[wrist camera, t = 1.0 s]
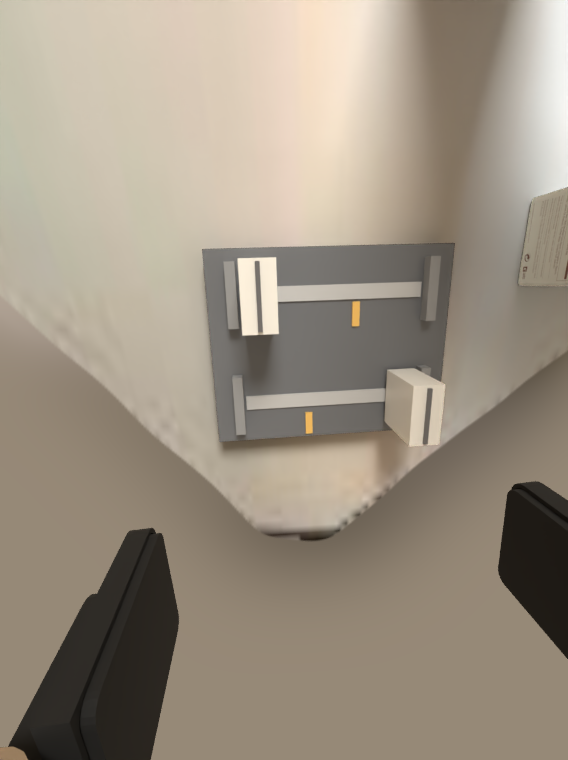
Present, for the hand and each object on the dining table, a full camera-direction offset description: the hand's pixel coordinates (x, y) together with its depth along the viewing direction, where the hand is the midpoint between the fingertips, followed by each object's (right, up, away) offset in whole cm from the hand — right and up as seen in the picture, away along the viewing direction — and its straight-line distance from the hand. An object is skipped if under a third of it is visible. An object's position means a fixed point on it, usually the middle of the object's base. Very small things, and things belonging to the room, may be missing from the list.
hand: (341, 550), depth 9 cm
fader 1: (-4, +11, +18) cm, 21 cm away
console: (+2, +8, +22) cm, 23 cm away
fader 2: (+9, +3, +21) cm, 23 cm away
